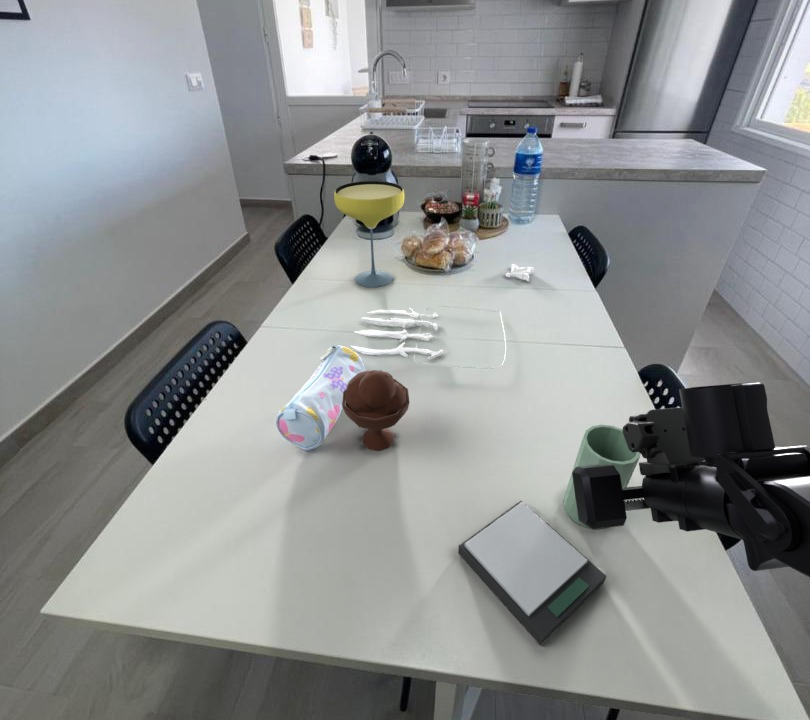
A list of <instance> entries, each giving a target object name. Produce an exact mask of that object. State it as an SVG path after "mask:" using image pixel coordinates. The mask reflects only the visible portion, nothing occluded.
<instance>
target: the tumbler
mask: <svg viewBox="0 0 810 720" xmlns="http://www.w3.org/2000/svg"><path fill="white" fill-rule="evenodd" d="M622 431H623V428H620V427H617V426H614V425H610V424H609V425H608V424H596V425H592V426H590V427H588V428H587V429H586V430H585V431H584V434H583V436H582V439H581V443H580V446H579V449H578V452H577V454H576V458H575V461H574V465H573V468H572V470H571V474H570V477H569V480H568V484H567V487H566V490H565V492H564V496H563V500H562V501H563V502H562V503H563V509H564V511H565V513H566V515H567V516H568V518H570V519H571V520H572V521H573V522H575V523H576V524H577V525H579V526H581V527H584V528H587V529H591V530H593V529H592V528H589V527H587V526H585V525H583V524H582V523H581V522H580V521H579V519H578V512H577V505H576V498H575V491H574V483H573V476H572V472H573V470H574V469H575V468H576V467H579V466H589V465H603V464H609V465H614V466H615V468H616V469H617V471H618V472H619V474H620V478H621V484H622V488H626V487H629V486H628V485H629V484H630V481H631V479H632V476H633V474H634V472H635V469H636V467H637V465H638V464H639V460H640V459H641V453H639V452H631V451H630V450H629V449H628V446H627V443H626V440H625V438H624V435H623V432H622ZM600 529H602V528H597V529H596V530H600Z"/></svg>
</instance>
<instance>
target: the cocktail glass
mask: <svg viewBox="0 0 810 720" xmlns="http://www.w3.org/2000/svg"><path fill="white" fill-rule="evenodd" d="M333 197H334V198H333V199H334V204H335V207H336V208H337V209H338V211H340V212H341V213H342V214H344V215H345V216H347V217H350V218H352V219H354V220H357V221H359V222H361V223H363V225H364V226H365V227H366V228H367V229H369V232H370V233H369V235H370V256H371V259H370V260H371V266H370V267H371V268H370V270H366V271H362V272H360V273H358V274H357V275H356V276H355V278H354V281H355V283H356V284H357V285H359V286H361V287H365V288H380V287H385V286H387V285H389V284H390V283H392V281H393V276H392V274H391V273H389V272H387V271H384V270H377V269H376V266H375V264H376V263H375V253H374V234H373V233H374V232H373V229H375V228H376V227H377V225H378V224H379V223H380V222H382V221H383V220H385V219H387V218H390V217H391V216H393V215H395V214H396V213H397V212H399V211H400V210H401V209H402V207H403V206H404V203H405V190H404V188H403V186H402V185H399V184H397V183H394V182H390V181H381V180H364V181H363V180H362V181H354V182H348V183H344V184H342V185H339V186H338V187H336V188H335V190H334V194H333Z"/></svg>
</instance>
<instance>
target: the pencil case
mask: <svg viewBox="0 0 810 720" xmlns="http://www.w3.org/2000/svg"><path fill="white" fill-rule="evenodd" d="M319 361H320V362H321V363H320V365H318V367H317V368H316V369H315V371H314V372H313V373H312V375H311V376H310V378H309V379H308V380H307V381H306V382H305V383H304V384H303V386H302V387H301V388H300V390H298V391H297V392H296V394H295V395H294V396H293V397H292V399H291V400H290V401H289V402H288V403H286V404H285V405H284V406H282V408H281V409H280V410H279V411H278V413H277V415H276V419H275V425H276V429H277V431H278V432H279V434H280V436H282V438H283V439H284V440H286V441H287V442H289V443H290V444H291V445H293V446H295V447H297V448H299V449H302V450H305V451H311V450H313V449H316V448H318V447H320V446H321V445H322V444H323V443H324V442H325V440H326V438H327V436H328V435H329V434H330V432H331V431H332V429H333V428H334V426H335V424H336V423H337V421H338V419H339V417H340V415H341V414H342V412H343V407H342V400H343V392H344V391H345V390H346V389H347V384H348V382H349V381H350V380H351V379H352V378H353V377H354V376H355V375H357V374H358V373H360V372H363V371H366V369H365V365H364V362H363V359H362V358H361V357H360V355H359V354H358V353H357V351H355V350H354V349H353V350H352V349H351V348H349V347H347V346H344V345H343V346H342V345H340V344H338V345H337V346H335V345H331V346H330V347H329V348H328V349H327V350H326V352H325V354H323V355H322V356H321V357H320V358H319Z"/></svg>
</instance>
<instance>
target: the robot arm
mask: <svg viewBox="0 0 810 720" xmlns="http://www.w3.org/2000/svg"><path fill="white" fill-rule="evenodd" d="M678 391H679V392H678V393H679V396H680V402H681V407H669V408H668V407H667V408H666V407H665V408H657V409H656V408H655V409H650V410H648V411H647V412H646V413H641V414H638V415H630V416H629V418H628V422H627V423H625V424H624V425H623V426H622V429H623V431H622V432H623V435H624V438H625V440H626V443H627V446H628V449H629V450H630V451H631V452H639V453H641V454H640V456H641V457H642V458H643V459H646V461H638V467H639V473H640V475H641V476H644V477H643V478H642V482H641V485H637V486H627V487H626V488H622V484H621V478H620V474H619V472H618V471H617V469H616V468H615V466H614V465H609V464H603V465H589V466H579V467H576V468H575V469H574V470H573V469H572V471H573V472H572V471H571V474H572V476H573V483H574V491H575V498H576V505H577V512H578V519H579V521H580V522H581V523H582V524H583V525H585V526H587V527H589V528H588V529H591V528H592V529H591V530H598V529H597V528H601V529H605V528H606V529H607V528H614V527H615V528H616V527H623V526H624V525H625V523H626V521H627V519H628V517H627V516H628V515H627V512H629V511H639V510H649V509H650V513H651V520H652V522H655V523H660V524H661V523H668V522H669V523H670V522H677V523H678V528H679V530H680V531H684V532H694V531H703V530H706V531H711V532H714V533H716V534H721V535H725V536H728V537H731V538H735V539H738V540H742V542H743V546H744V550H745V556H746V561H747V566H748V567H749V569H750V570H751V571H753V572H758V571H759V572H760V571H767V570H775V569H783V568H790V569H793V570H795V571H796V572H798V573H800V574H803V575H804V576H806V577H808V578H810V447H809V446H808V445H797V446H796V445H795V446H776V444H775V439H774V434H773V430H772V426H771V420H770V416H769V411H768V397H767V391H766V386H765V384H764V383H763V382H740V383H727V384H716V385H703V386H693V387H692V386H691V387H685V388H680V389H678Z"/></svg>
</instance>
